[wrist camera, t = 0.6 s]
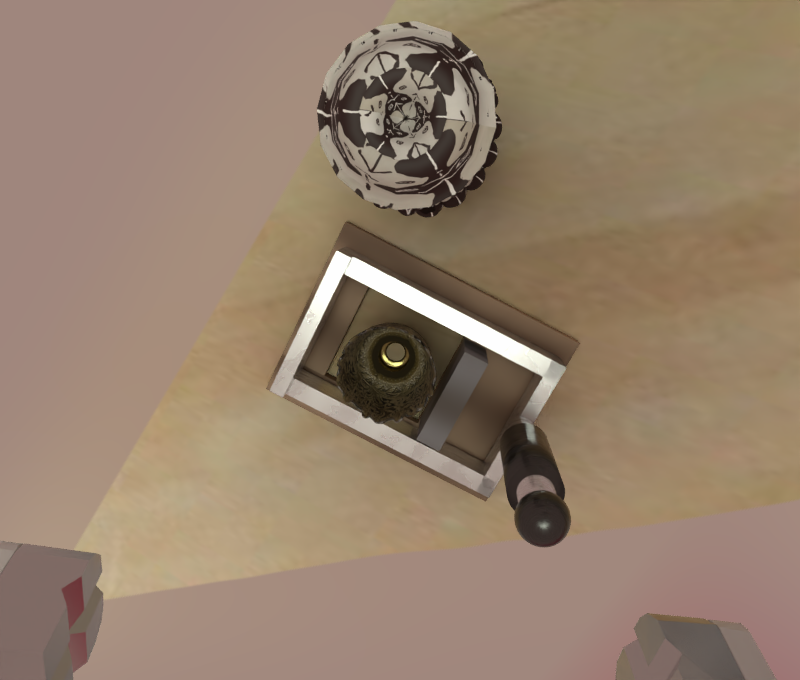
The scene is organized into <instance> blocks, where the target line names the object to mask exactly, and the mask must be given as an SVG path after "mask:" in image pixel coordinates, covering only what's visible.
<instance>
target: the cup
mask: <svg viewBox="0 0 800 680" xmlns="http://www.w3.org/2000/svg"><path fill="white" fill-rule="evenodd" d="M392 343H399V344H401V345H402V346H403V347H404V349H405V356H404V358H403V359H402V360H400V361H392V360H390V359H389V358H388V357H387V354H386V350H387V347H388V346H389V345H390V344H392ZM342 353H343V355H342V356H341V357H340V359H339V361H338V363H337V365H338V366H339V369H338V373H337V386H338V388H339V389H340V391H341V393H342V394H343V400H344V401H345V403H347V404H348V403H350V402H352V403H353V404H354V406H355V408H357V409H359V410H361V413H362V417H363V418H366V419H367V418H369V417H370V418H371V419H372V420H373V421H374V423H376V424H383V423H386V422H388V421H390V420H393V421H394V422H395V423H399V422H400V421H402V419H403V418H404V416H407V417H413V416H415V415H416V413H417V412H418V411H419V410H422V409H423V408H424V407H425V406H426V404H427V401H428V397H429V396H432V395H433V392H434V384H435V381H436V369H435V365H434V361H433V358H432V355H431V352H430V350H429V347H428V346H427V344H426V342H425V341H424V339H423V338H422V337H421V336H420V335H419V334H418V333H417V332H416V331H414V330H413V329H411V328H409V327H407V326H404V325H401V324H397V323H385V324H379V325H376V326H373V327H371V328H369V329H367V330H365V331H363V332H361V333H359V334H358V335H356V336H355V337H353V338H352V339H351V340H350V341H349V342H348V344H347V345H346V346H345V348H344V350H343V352H342Z"/></svg>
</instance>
